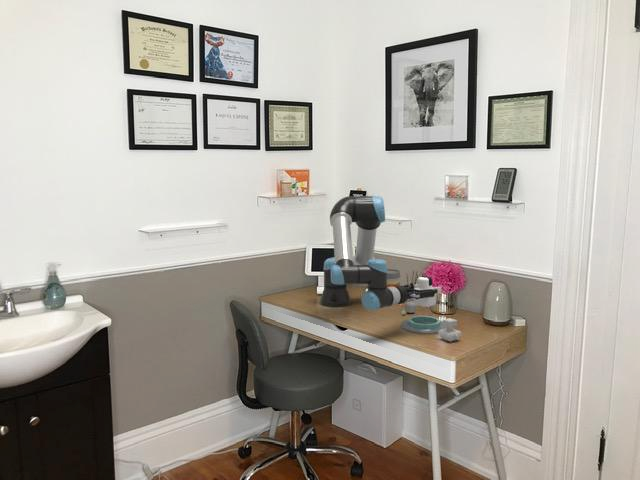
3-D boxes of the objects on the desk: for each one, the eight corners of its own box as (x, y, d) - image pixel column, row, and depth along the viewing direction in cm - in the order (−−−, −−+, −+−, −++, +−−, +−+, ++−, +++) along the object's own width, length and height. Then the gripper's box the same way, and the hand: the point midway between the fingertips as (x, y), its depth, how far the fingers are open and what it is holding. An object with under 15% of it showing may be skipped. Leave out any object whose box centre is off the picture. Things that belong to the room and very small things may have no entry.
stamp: (464, 341, 213) (464, 320, 212) (452, 344, 210) (452, 323, 208) (447, 335, 221) (447, 315, 220) (435, 338, 217) (436, 318, 216)
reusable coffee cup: (380, 295, 288) (380, 268, 286) (403, 298, 283) (403, 270, 280) (372, 301, 277) (372, 272, 275) (395, 303, 271) (396, 274, 269)
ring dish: (391, 325, 234) (391, 319, 234) (422, 317, 246) (422, 311, 246) (425, 337, 219) (426, 330, 218) (457, 328, 230) (458, 321, 230)
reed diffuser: (411, 310, 259) (412, 269, 256) (423, 312, 254) (424, 271, 251) (398, 314, 252) (399, 272, 249) (410, 317, 247) (411, 274, 244)
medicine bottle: (421, 301, 236) (422, 274, 234) (436, 304, 231) (436, 276, 230) (413, 304, 230) (413, 277, 229) (428, 307, 226) (428, 279, 224)
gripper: (376, 299, 228) (414, 291, 242) (413, 309, 211) (451, 301, 225) (377, 282, 227) (414, 275, 241) (414, 291, 210) (452, 283, 224)
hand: (432, 287), depth 233 cm, fingers closed on medicine bottle, 8 cm apart
